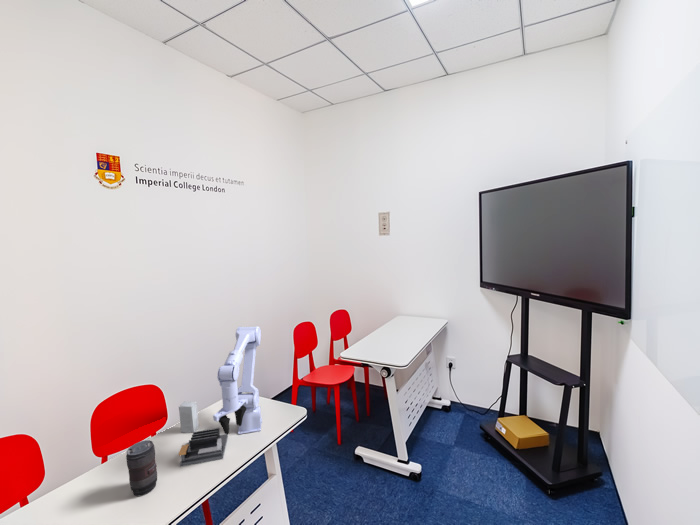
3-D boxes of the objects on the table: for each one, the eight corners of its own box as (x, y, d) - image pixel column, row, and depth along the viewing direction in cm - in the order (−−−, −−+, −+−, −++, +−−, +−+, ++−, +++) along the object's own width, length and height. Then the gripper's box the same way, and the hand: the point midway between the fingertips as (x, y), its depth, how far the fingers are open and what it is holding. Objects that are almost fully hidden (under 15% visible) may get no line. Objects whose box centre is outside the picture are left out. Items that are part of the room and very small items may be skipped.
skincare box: (199, 427, 147) (197, 401, 145) (194, 432, 142) (191, 406, 141) (186, 426, 147) (184, 401, 146) (180, 432, 143) (178, 406, 142)
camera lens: (154, 475, 118) (150, 436, 116) (161, 487, 112) (157, 446, 111) (128, 488, 112) (123, 447, 111) (133, 502, 107) (128, 459, 105)
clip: (222, 448, 129) (221, 438, 129) (221, 452, 127) (220, 442, 126) (199, 452, 127) (198, 442, 127) (198, 456, 125) (197, 445, 124)
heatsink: (227, 436, 139) (227, 425, 138) (222, 458, 125) (221, 447, 125) (188, 443, 136) (187, 432, 135) (179, 466, 122) (178, 454, 121)
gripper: (238, 385, 135) (241, 416, 136) (206, 402, 123) (210, 436, 124) (250, 389, 131) (252, 421, 133) (218, 406, 119) (222, 442, 120)
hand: (233, 429), depth 128 cm, fingers open, 5 cm apart
